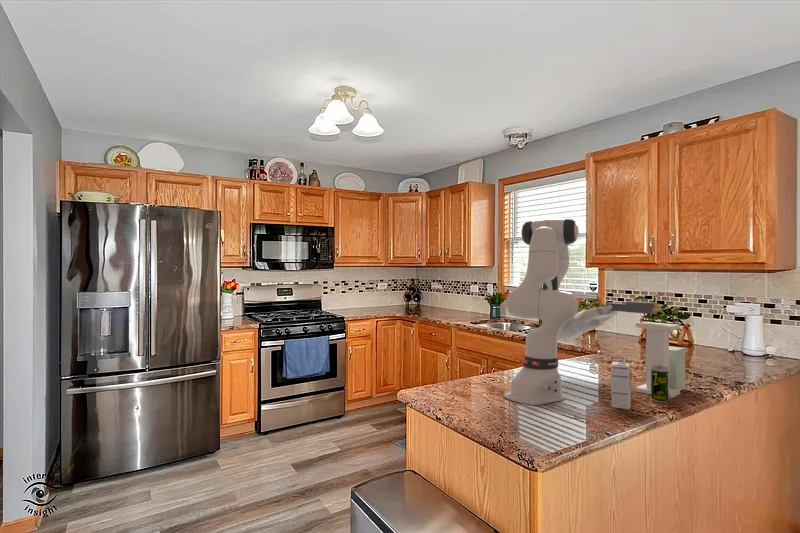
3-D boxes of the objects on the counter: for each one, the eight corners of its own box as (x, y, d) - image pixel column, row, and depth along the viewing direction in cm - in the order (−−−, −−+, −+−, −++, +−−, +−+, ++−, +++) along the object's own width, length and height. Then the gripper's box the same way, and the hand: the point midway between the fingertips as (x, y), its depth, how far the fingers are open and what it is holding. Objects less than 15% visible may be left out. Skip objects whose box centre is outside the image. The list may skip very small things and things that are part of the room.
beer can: (650, 398, 158) (650, 364, 158) (667, 399, 155) (667, 366, 155) (651, 402, 153) (651, 367, 153) (669, 404, 150) (669, 369, 151)
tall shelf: (670, 398, 157) (670, 326, 157) (635, 391, 166) (635, 323, 167) (680, 394, 163) (679, 324, 163) (645, 387, 172) (645, 321, 172)
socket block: (676, 392, 164) (676, 350, 165) (645, 386, 173) (645, 346, 173) (685, 388, 170) (685, 348, 170) (655, 383, 179) (654, 344, 179)
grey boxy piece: (603, 310, 178) (603, 300, 178) (610, 309, 182) (610, 300, 182) (656, 314, 162) (656, 303, 162) (663, 313, 166) (663, 302, 166)
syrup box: (630, 409, 144) (630, 366, 144) (610, 407, 147) (610, 364, 147) (630, 405, 149) (630, 362, 149) (611, 402, 152) (611, 361, 152)
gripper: (570, 314, 181) (598, 299, 172) (595, 312, 194) (622, 297, 185) (577, 328, 179) (606, 314, 170) (602, 324, 192) (630, 311, 182)
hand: (615, 305), depth 177 cm, fingers closed on grey boxy piece, 3 cm apart
